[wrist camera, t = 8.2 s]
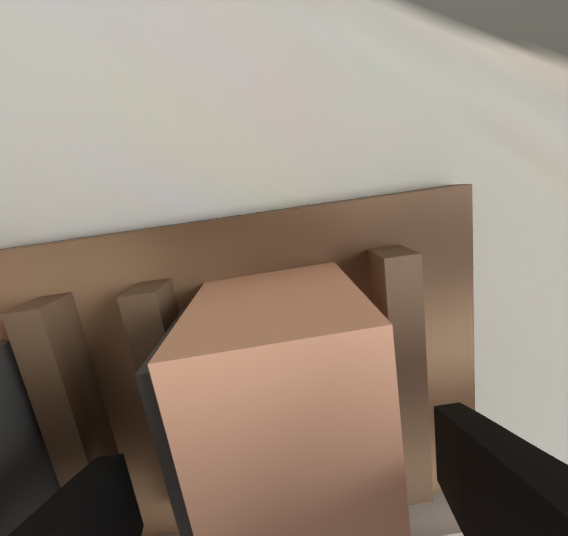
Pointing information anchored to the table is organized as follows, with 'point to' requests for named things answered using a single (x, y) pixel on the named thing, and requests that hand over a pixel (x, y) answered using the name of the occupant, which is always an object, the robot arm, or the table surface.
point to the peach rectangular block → (279, 409)
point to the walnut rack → (231, 264)
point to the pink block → (20, 447)
